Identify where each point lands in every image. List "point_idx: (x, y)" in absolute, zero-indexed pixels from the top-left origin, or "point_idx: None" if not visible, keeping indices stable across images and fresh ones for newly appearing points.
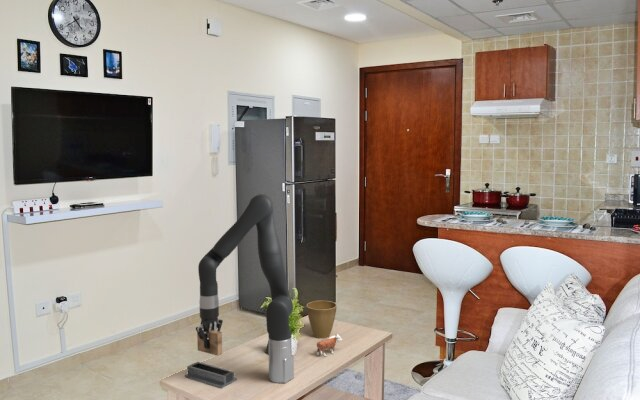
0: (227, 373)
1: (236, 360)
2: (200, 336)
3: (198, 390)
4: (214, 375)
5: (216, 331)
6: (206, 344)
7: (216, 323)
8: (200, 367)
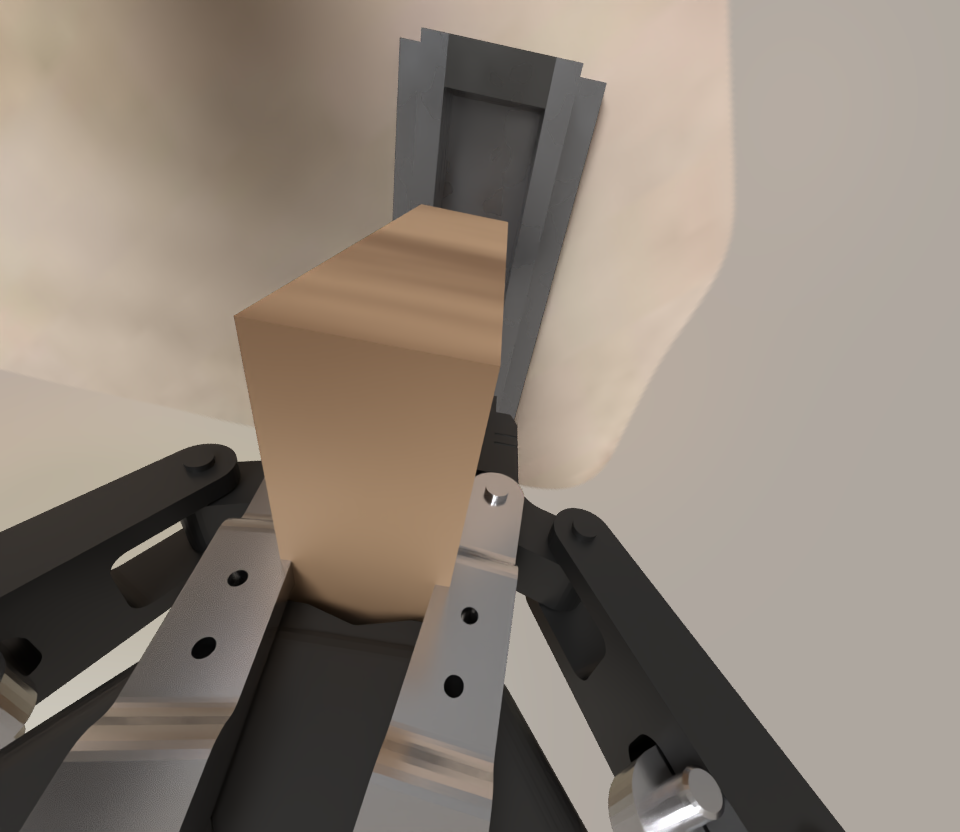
0: (489, 85)
1: (143, 282)
2: (587, 617)
3: (667, 259)
4: (546, 212)
5: (319, 495)
6: (516, 448)
7: (21, 752)
8: None
